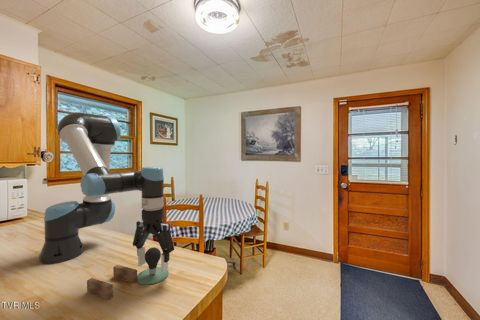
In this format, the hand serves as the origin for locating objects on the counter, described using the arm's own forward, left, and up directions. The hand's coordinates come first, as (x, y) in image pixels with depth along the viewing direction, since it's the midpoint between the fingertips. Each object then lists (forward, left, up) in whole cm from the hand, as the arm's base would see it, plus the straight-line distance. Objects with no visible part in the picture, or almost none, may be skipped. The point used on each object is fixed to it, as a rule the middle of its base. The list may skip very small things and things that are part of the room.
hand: (153, 267), depth 80 cm
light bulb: (0, 0, -3) cm, 3 cm away
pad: (0, 0, -3) cm, 3 cm away
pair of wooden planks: (-8, -10, -3) cm, 13 cm away
